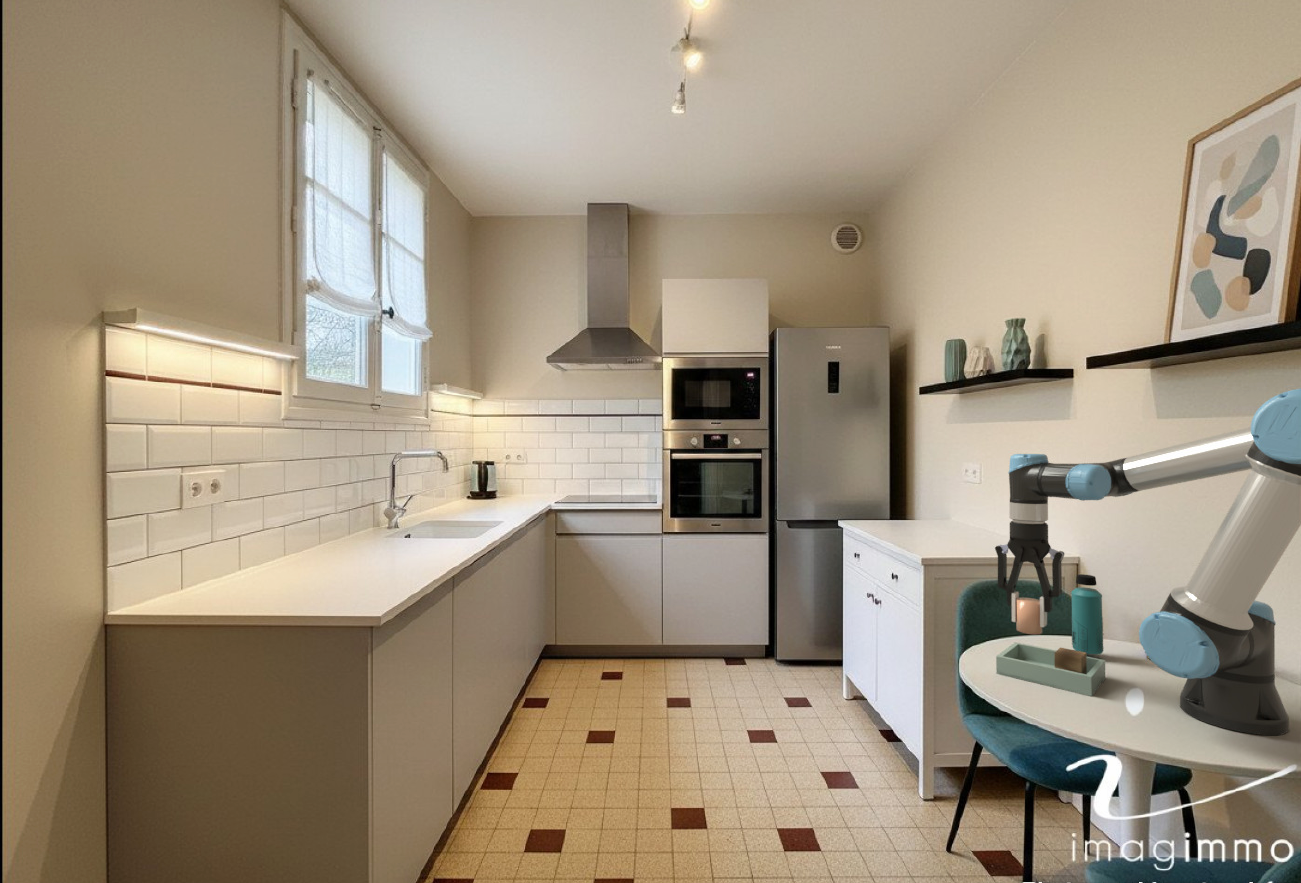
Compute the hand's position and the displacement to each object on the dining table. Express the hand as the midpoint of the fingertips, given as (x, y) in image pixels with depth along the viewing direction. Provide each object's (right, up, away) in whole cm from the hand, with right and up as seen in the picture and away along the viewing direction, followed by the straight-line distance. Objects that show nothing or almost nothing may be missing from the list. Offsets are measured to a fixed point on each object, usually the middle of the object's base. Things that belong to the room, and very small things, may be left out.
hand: (1029, 622), depth 141 cm
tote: (+4, -12, -1) cm, 12 cm away
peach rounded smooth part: (0, -2, 0) cm, 2 cm away
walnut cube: (+8, -11, -2) cm, 14 cm away
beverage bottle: (+21, -12, +11) cm, 27 cm away
